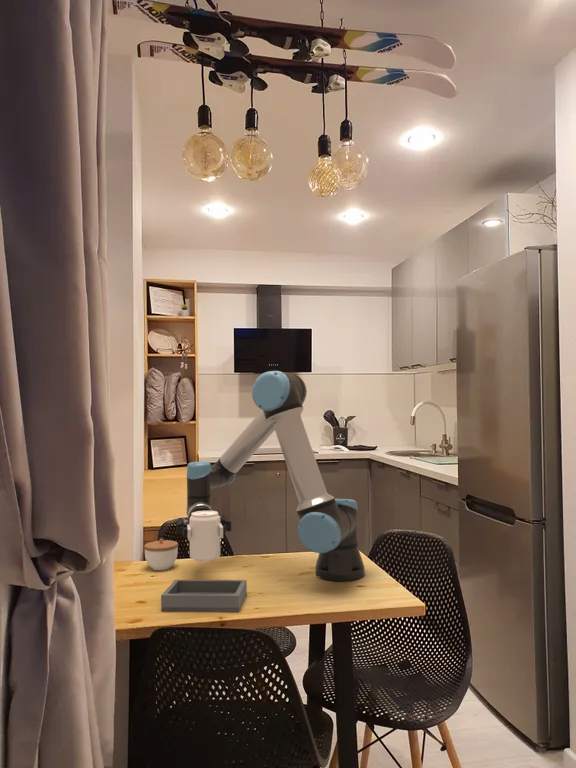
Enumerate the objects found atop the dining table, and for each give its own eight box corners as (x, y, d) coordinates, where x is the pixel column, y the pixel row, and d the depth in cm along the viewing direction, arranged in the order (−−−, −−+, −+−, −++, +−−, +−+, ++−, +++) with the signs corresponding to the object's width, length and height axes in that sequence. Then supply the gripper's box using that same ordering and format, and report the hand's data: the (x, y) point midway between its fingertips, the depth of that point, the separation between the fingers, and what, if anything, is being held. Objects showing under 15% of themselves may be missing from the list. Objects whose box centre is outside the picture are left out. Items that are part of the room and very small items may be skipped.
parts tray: (246, 594, 151) (246, 579, 151) (238, 611, 138) (238, 595, 138) (175, 594, 153) (175, 579, 153) (161, 611, 140) (161, 595, 140)
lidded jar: (185, 566, 181) (184, 537, 181) (161, 574, 172) (161, 544, 172) (161, 561, 186) (161, 534, 187) (137, 569, 177) (137, 540, 178)
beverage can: (211, 563, 141) (210, 516, 142) (184, 561, 144) (183, 515, 145) (225, 555, 149) (225, 511, 149) (199, 553, 152) (199, 509, 152)
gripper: (235, 528, 166) (245, 545, 144) (166, 532, 162) (165, 551, 140) (234, 503, 167) (244, 516, 144) (165, 506, 162) (165, 521, 140)
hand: (205, 533), depth 142 cm, fingers closed on beverage can, 8 cm apart
